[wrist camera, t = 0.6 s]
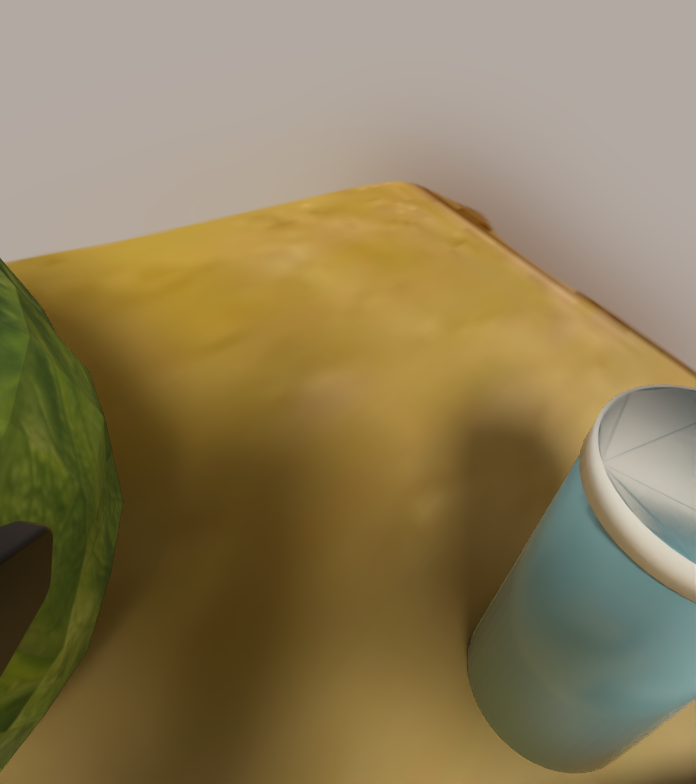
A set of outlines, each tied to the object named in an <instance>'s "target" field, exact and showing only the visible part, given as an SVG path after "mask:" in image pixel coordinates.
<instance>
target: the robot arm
mask: <svg viewBox="0 0 696 784" xmlns="http://www.w3.org/2000/svg"><path fill="white" fill-rule="evenodd" d="M52 554H53V533H52V530H51V528H50V527H49V526H47V525H42V524H37V523H32V522H27V521H16V522H13V523H10V524H7V525H4V526H1V527H0V678H1V676H2V674H3V673H4V671H5V669H6V667H7V666H8V664H9V662H10V660H11V659H12V657H13V655H14V653H15V652H16V650H17V648H18V646H19V644H20V643H21V641H22V639H23V637H24V636H25V634H26V632H27V630H28V629H29V627H30V625H31V623H32V622H33V620H34V618H35V616H36V614H37V613H38V611H39V609H40V607H41V606H42V604H43V602H44V600H45V598H46V596H47V594H48V591H49V588H50V584H51V573H52Z"/></svg>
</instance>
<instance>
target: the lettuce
mask: <svg viewBox="0 0 696 784" xmlns="http://www.w3.org/2000/svg"><path fill="white" fill-rule="evenodd" d="M122 506H123V498H122V493H121V489H120V484H119V480H118V475H117V471H116V466H115V462H114V457H113V453H112V448H111V444H110V439H109V435H108V430H107V426H106V421H105V417H104V414H103V411H102V408H101V405H100V402H99V400H98V397H97V394H96V391H95V388H94V385H93V382H92V379H91V376H90V373H89V371H88V370H87V368H86V367H85V366H84V365H83V364H82V363H81V361H80V360H79V359H78V358H77V357H76V356H75V355H74V353H73V352H72V351H71V350H70V349H69V348H68V346H67V345H66V344H65V343H64V342H63V341H62V339H61V338H60V337H59V336H58V335H57V334H56V332H55V330H54V328H53V326H52V324H51V323H50V321H49V319H48V317H47V315H46V314H45V312H44V310H43V308H42V307H41V305H40V304H39V303H38V302H37V301H36V299H35V298H34V297H33V296H32V295H31V294H30V292H29V291H28V290H27V289H26V288H25V287H24V285H23V284H22V283H21V282H20V281H19V280H18V278H17V277H16V276H15V275H14V274H13V272H12V271H11V270H10V269H9V268H8V267H7V265H6V264H5V263H4V262H3V261H2V260H1V259H0V527H1V526H4V525H7V524H10V523H13V522H16V521H27V522H32V523H37V524H42V525H47V526H49V527H50V528H51V530H52V533H53V554H52V573H51V584H50V588H49V591H48V594H47V596H46V598H45V600H44V602H43V604H42V606H41V607H40V609H39V611H38V613H37V614H36V616H35V618H34V620H33V622H32V623H31V625H30V627H29V629H28V630H27V632H26V634H25V636H24V637H23V639H22V641H21V643H20V644H19V646H18V648H17V650H16V652H15V653H14V655H13V657H12V659H11V660H10V662H9V664H8V666H7V667H6V669H5V671H4V673H3V674H2V676H1V678H0V771H1V770H2V769H3V768H4V766H5V765H6V764H7V762H8V761H9V760H10V759H11V757H12V756H13V755H14V753H15V752H16V751H17V750H18V748H19V747H20V746H21V745H22V743H23V742H24V741H25V739H26V738H27V737H28V736H29V734H30V733H31V732H32V730H33V729H34V728H35V727H36V725H37V724H38V723H39V722H40V720H41V719H42V718H43V716H44V715H45V714H46V712H47V711H48V709H49V708H50V706H51V705H52V703H53V702H54V700H55V699H56V697H57V696H58V694H59V693H60V691H61V690H62V688H63V687H64V685H65V684H66V682H67V681H68V679H69V678H70V676H71V675H72V673H73V672H74V670H75V669H76V667H77V666H78V664H79V662H80V661H81V659H82V658H83V656H84V655H85V653H86V652H87V649H88V646H89V643H90V639H91V636H92V633H93V629H94V626H95V623H96V619H97V616H98V613H99V609H100V606H101V603H102V599H103V596H104V593H105V590H106V586H107V583H108V580H109V576H110V573H111V567H112V562H113V556H114V551H115V545H116V540H117V534H118V528H119V523H120V517H121V512H122Z"/></svg>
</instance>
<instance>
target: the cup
mask: <svg viewBox="0 0 696 784" xmlns="http://www.w3.org/2000/svg"><path fill="white" fill-rule="evenodd" d="M467 666H468V675H469V681H470V685H471V688H472V692H473V695H474V697H475V699H476V702H477V704H478V706H479V708H480V710H481V712H482V714H483V715H484V717H485V719H486V720H487V721H488V723H489V724H490V726H491V727H492V728H493V730H494V731H495V732H496V733H497V734H498V735H499V736H500V738H501V739H502V740H503V741H505V742H506V743H507V744H508V745H509V746H510V747H511V748H512V749H514V750H515V751H516V752H518V753H519V754H520V755H522V756H523V757H525V758H527V759H528V760H530V761H532V762H533V763H536V764H538V765H540V766H542V767H545V768H548V769H551V770H554V771H558V772H565V773H586V772H592V771H595V770H598V769H601V768H603V767H605V766H607V765H608V764H610V763H612V762H613V761H615V760H616V759H617V758H619V757H620V756H621V755H623V754H624V753H625V752H627V751H628V750H629V749H631V748H632V747H633V746H635V745H636V744H637V743H639V742H640V741H641V740H643V739H644V738H645V737H647V736H648V735H649V734H651V733H652V732H653V731H655V730H656V729H657V728H659V727H660V726H661V725H663V724H664V723H665V722H667V721H668V720H669V719H671V718H672V717H673V716H675V715H676V714H677V713H679V712H680V711H681V710H683V709H684V708H685V707H687V706H688V705H689V704H691V703H692V702H693V701H695V700H696V388H691V387H685V386H678V385H647V386H640V387H636V388H633V389H629V390H627V391H625V392H622V393H620V394H618V395H617V396H615V397H614V398H613V399H611V400H610V401H609V402H608V403H607V404H606V405H605V406H604V407H603V409H602V411H601V412H600V414H599V416H598V417H597V419H596V421H595V422H594V424H593V426H592V428H591V429H590V431H589V433H588V434H587V436H586V438H585V439H584V442H583V444H582V447H581V451H580V455H579V456H578V458H577V460H576V461H575V463H574V465H573V466H572V468H571V470H570V471H569V473H568V475H567V476H566V478H565V480H564V481H563V483H562V485H561V486H560V488H559V490H558V491H557V493H556V495H555V496H554V498H553V500H552V501H551V503H550V505H549V506H548V508H547V510H546V511H545V513H544V515H543V516H542V518H541V520H540V521H539V523H538V525H537V526H536V528H535V530H534V531H533V533H532V535H531V536H530V538H529V540H528V541H527V543H526V545H525V546H524V548H523V550H522V551H521V553H520V555H519V556H518V558H517V560H516V561H515V563H514V565H513V566H512V568H511V570H510V571H509V573H508V574H507V576H506V578H505V579H504V581H503V583H502V584H501V586H500V588H499V589H498V591H497V593H496V594H495V596H494V598H493V599H492V601H491V603H490V604H489V606H488V608H487V609H486V611H485V613H484V614H483V616H482V618H481V619H480V621H479V623H478V624H477V626H476V628H475V629H474V631H473V634H472V637H471V639H470V643H469V647H468V656H467Z"/></svg>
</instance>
